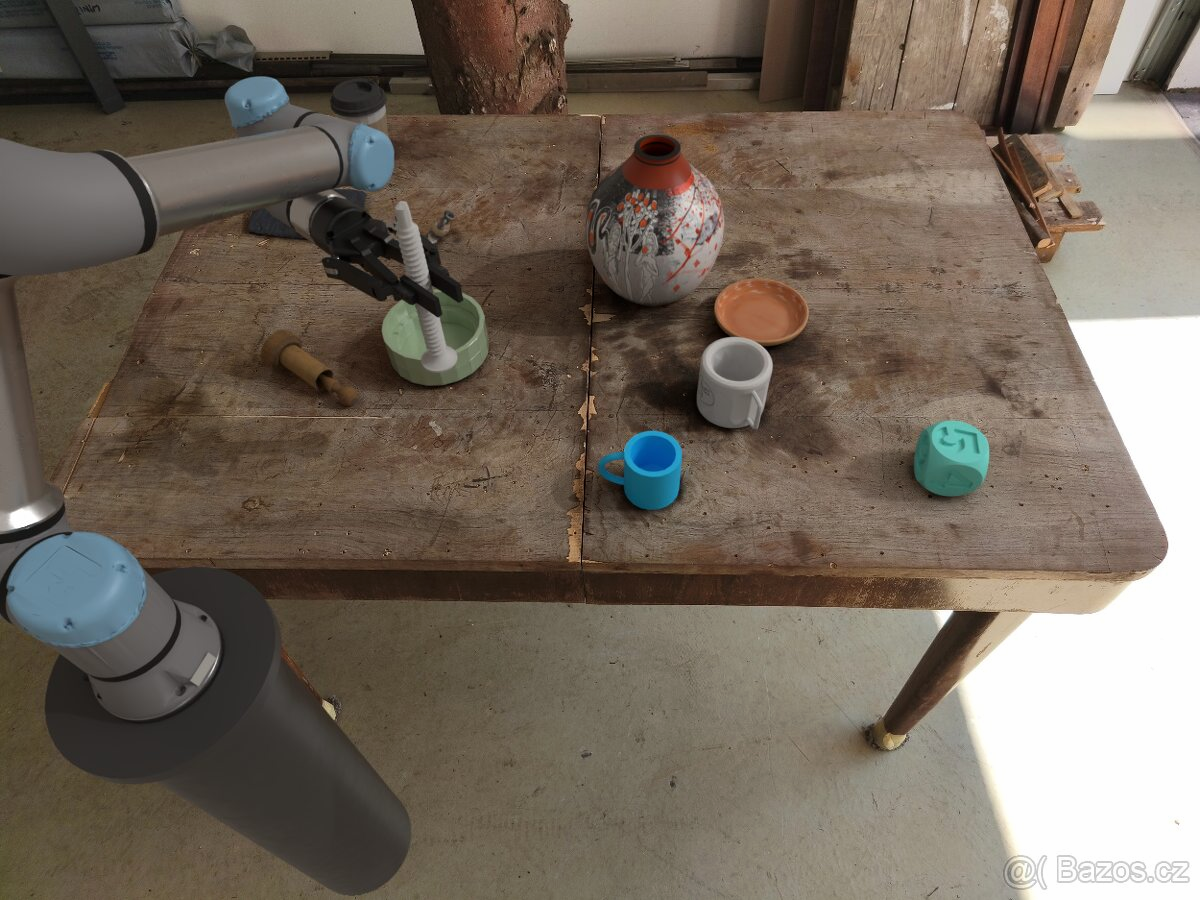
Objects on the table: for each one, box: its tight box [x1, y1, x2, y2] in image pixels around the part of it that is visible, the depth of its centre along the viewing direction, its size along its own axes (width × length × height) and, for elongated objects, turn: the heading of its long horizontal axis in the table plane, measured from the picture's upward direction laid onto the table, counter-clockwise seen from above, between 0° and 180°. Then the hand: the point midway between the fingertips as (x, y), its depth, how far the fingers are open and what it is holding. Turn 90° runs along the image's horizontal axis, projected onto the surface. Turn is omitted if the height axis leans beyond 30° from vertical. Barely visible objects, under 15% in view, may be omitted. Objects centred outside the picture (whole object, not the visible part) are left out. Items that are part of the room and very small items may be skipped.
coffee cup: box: [329, 77, 390, 139], centre depth 168 cm, size 11×11×15 cm
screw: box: [394, 200, 457, 373], centre depth 102 cm, size 5×26×5 cm
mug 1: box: [597, 430, 683, 511], centre depth 116 cm, size 12×8×8 cm
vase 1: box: [427, 209, 456, 245], centre depth 154 cm, size 5×5×6 cm
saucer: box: [713, 277, 810, 347], centre depth 139 cm, size 16×16×3 cm
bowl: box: [381, 288, 490, 386], centre depth 135 cm, size 17×17×7 cm
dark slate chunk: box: [247, 188, 368, 240], centre depth 160 cm, size 15×22×5 cm
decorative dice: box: [913, 419, 990, 497], centre depth 116 cm, size 8×8×8 cm
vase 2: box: [584, 133, 725, 307], centre depth 135 cm, size 23×23×28 cm
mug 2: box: [696, 336, 774, 430], centre depth 124 cm, size 14×11×10 cm
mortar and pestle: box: [260, 329, 360, 407], centre depth 132 cm, size 7×6×18 cm
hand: (448, 300), depth 99 cm, fingers closed on screw, 3 cm apart
